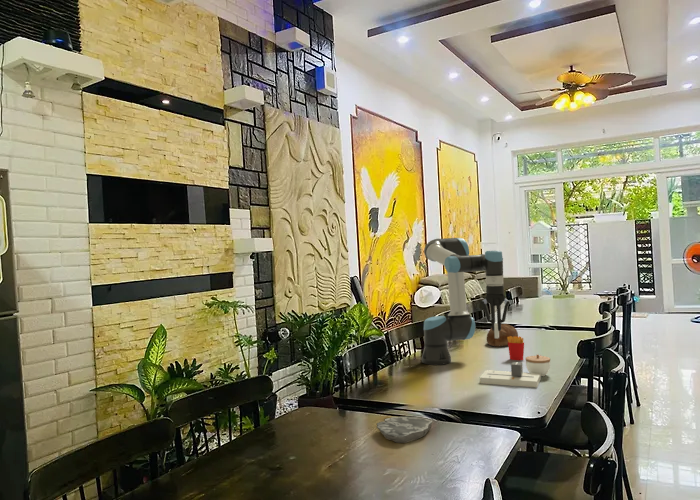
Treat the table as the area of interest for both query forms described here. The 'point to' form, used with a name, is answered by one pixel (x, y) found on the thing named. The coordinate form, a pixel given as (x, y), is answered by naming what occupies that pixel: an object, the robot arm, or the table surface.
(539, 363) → the lidded jar
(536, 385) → the console
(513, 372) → the fader tab
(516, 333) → the bread
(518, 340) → the french fries
